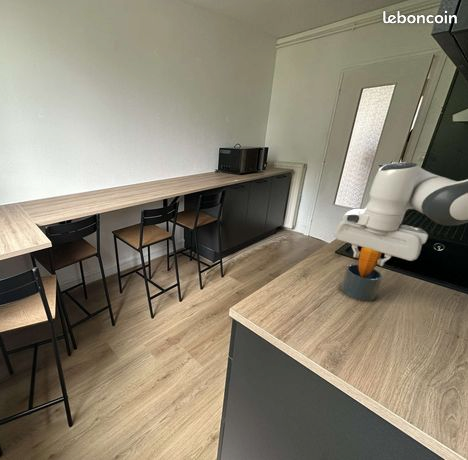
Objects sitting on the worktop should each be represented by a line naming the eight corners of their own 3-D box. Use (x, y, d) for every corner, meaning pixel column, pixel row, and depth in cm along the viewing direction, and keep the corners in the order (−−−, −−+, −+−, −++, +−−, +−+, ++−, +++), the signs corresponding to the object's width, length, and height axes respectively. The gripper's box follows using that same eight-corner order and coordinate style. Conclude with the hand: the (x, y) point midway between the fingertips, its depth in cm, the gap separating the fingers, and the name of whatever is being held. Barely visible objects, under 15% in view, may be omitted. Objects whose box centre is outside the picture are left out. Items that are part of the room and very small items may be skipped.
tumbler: (378, 293, 82) (386, 272, 79) (368, 304, 78) (376, 283, 74) (347, 281, 89) (353, 261, 86) (336, 291, 84) (342, 270, 81)
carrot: (373, 276, 81) (387, 234, 75) (371, 283, 78) (386, 240, 72) (354, 271, 84) (367, 230, 78) (351, 278, 81) (364, 235, 75)
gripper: (433, 227, 67) (415, 271, 72) (346, 209, 82) (336, 246, 88) (427, 233, 64) (408, 279, 69) (338, 213, 79) (328, 252, 84)
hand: (367, 260), depth 78 cm, fingers closed on carrot, 5 cm apart
